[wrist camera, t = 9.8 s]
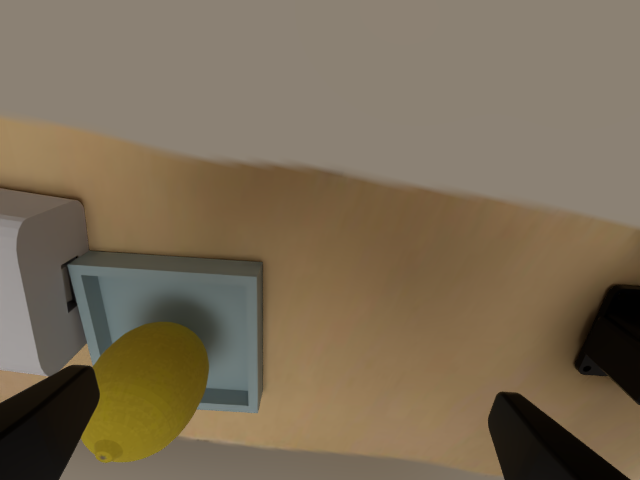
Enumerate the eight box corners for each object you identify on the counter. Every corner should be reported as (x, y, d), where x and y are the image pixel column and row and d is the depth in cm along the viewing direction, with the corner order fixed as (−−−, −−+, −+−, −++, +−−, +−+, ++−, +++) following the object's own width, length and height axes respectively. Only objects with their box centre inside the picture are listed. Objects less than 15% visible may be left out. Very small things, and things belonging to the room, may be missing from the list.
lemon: (230, 306, 20) (175, 424, 13) (219, 374, 22) (166, 509, 15) (138, 286, 20) (25, 397, 12) (135, 358, 22) (38, 489, 14)
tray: (262, 262, 20) (256, 276, 18) (262, 391, 23) (257, 413, 22) (89, 250, 19) (67, 264, 18) (118, 382, 23) (102, 403, 22)
